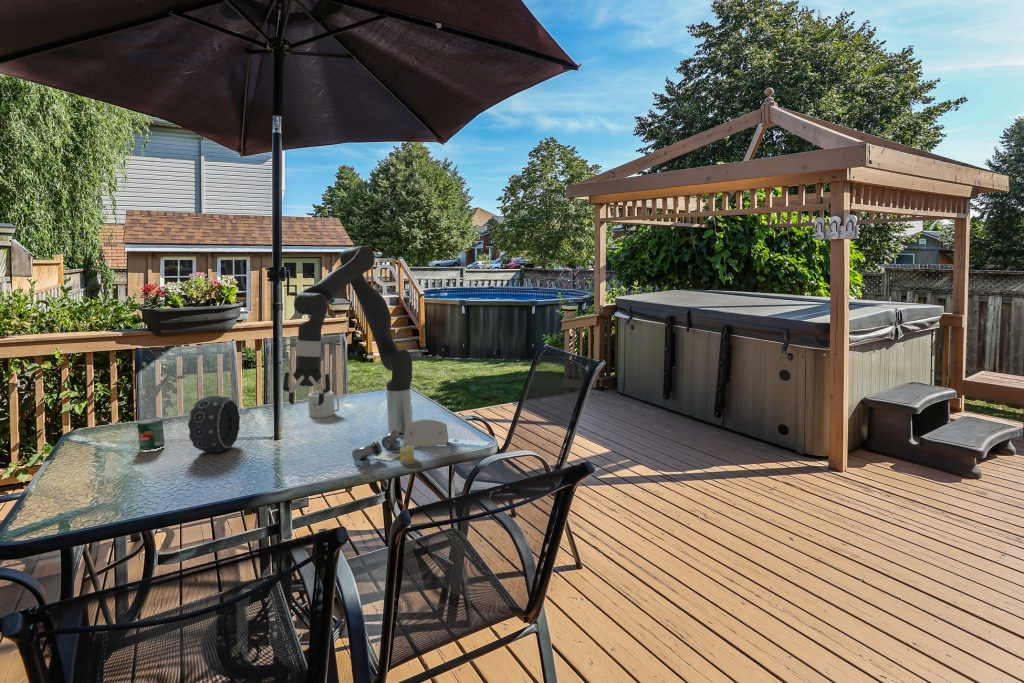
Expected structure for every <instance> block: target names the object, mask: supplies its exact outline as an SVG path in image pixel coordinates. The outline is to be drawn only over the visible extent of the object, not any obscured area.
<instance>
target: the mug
mask: <svg viewBox="0 0 1024 683" xmlns="http://www.w3.org/2000/svg"><path fill="white" fill-rule="evenodd" d="M319 394H320V393H319V391H318V390H316V391H312V392H309V393H308V394H307V398H308V399H307V402H308V416H309V417H310V418H313V419H325V418H330V417H332V416H334V415H335V413H336V412H338V411H340V402H339V401H340V399H339V397H338V396H335V393H334V392H333V391H331V390H330V391H329V392H326V393H324V402H323V404H321V405H318V403H319ZM335 399H336V405H337V406H336V407H337V409H335V408H336V407H335ZM329 416H330V417H329ZM324 417H325V418H324Z"/></svg>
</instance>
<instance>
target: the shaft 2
mask: <svg viewBox="0 0 1024 683" xmlns="http://www.w3.org/2000/svg"><path fill="white" fill-rule="evenodd" d="M399 437H400V434H398V432H397V431H395V430H392V431H391V432H388V434H387V435H385V436H384V437H383V438H382V440H381V447H383V448H384V449H385V450H400V448H399V447H401V440H398V439H399Z"/></svg>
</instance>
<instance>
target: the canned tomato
mask: <svg viewBox="0 0 1024 683" xmlns="http://www.w3.org/2000/svg"><path fill="white" fill-rule="evenodd" d="M136 423H137V425H136V426H137V432H138V434H137V435H138V443H139V450H140V449H142V450H151V449H157V448H160V447H163V446H164V445H166V443H165V437H164V435H165V434H164V433H165V432H164V426H163V425H164V424H163V423H164V422H163V418H162V417H159V416H157V417H154V416H153V417H145V418H142V419H139V420H137V422H136Z"/></svg>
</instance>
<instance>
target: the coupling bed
mask: <svg viewBox="0 0 1024 683" xmlns="http://www.w3.org/2000/svg"><path fill="white" fill-rule="evenodd" d="M399 457H400V453H395V452H394V453H392V452H386V451H382V452H381V454H380V455H379V456H375V455H373V456H372V457H371V460H377V459H378V460H379V461H384V460H385V461H384V462H392V461H394V460H395V458H396V459H397V458H399Z"/></svg>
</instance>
